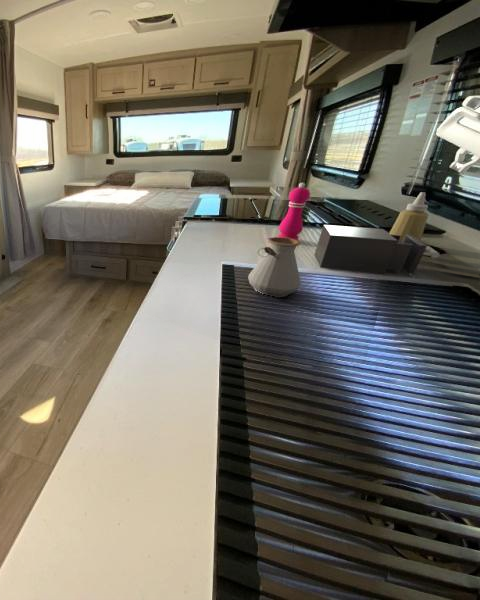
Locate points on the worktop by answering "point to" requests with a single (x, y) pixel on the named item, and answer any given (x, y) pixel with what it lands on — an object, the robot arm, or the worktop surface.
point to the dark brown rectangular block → (355, 249)
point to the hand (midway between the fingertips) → (456, 170)
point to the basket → (409, 254)
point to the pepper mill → (294, 213)
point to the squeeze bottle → (411, 219)
